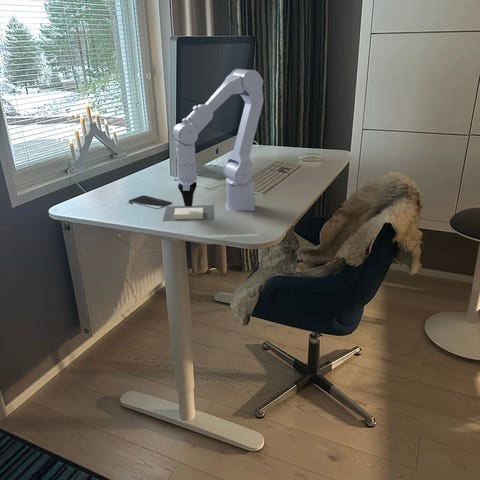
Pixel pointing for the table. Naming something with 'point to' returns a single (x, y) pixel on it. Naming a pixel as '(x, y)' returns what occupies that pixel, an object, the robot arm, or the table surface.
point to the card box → (188, 213)
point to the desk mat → (207, 209)
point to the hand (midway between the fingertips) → (188, 205)
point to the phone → (150, 201)
